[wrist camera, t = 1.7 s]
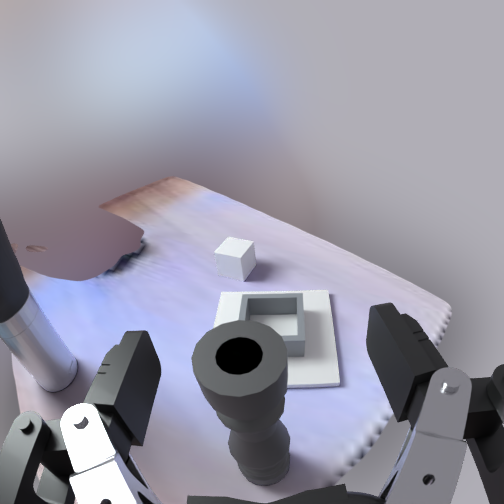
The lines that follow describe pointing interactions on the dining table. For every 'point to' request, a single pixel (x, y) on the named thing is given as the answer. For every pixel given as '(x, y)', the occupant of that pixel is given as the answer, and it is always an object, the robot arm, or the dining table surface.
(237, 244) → the white cube
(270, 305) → the collar board
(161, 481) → the dining table surface
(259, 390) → the candle holder
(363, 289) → the dining table surface
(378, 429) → the dining table surface
